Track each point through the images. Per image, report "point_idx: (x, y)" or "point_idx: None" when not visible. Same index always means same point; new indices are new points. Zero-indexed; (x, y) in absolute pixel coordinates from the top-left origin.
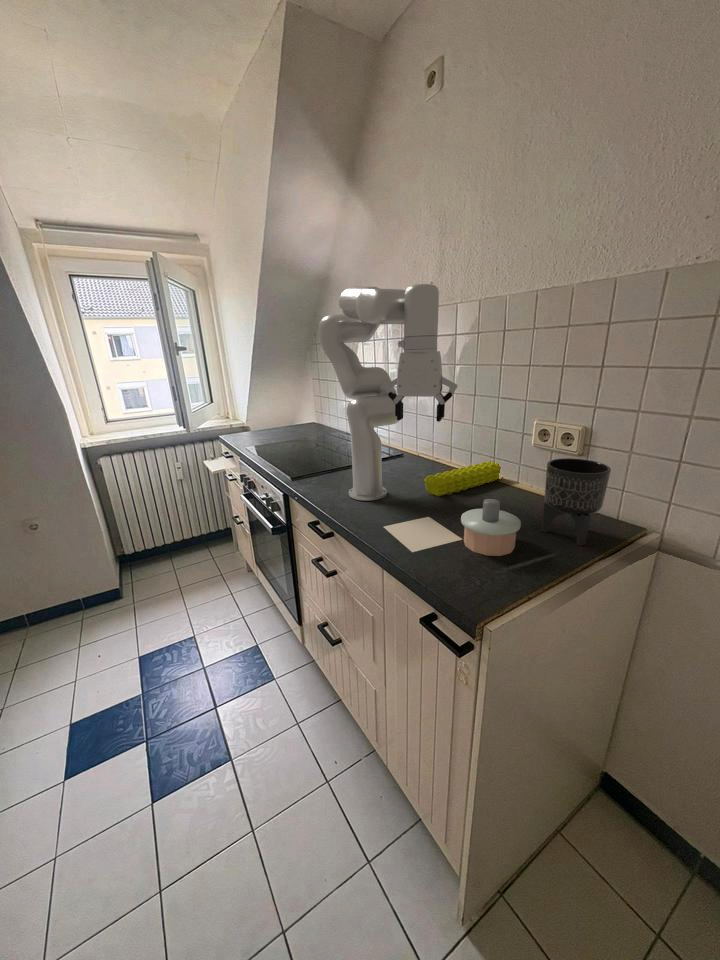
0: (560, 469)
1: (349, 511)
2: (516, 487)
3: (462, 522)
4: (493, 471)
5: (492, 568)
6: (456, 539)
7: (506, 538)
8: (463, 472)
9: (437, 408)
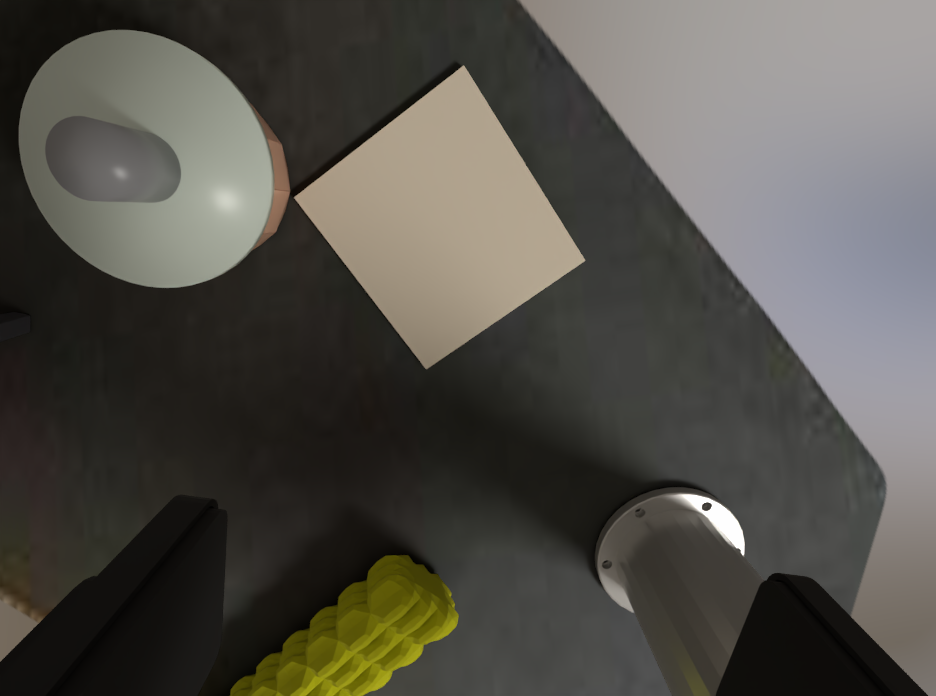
0: None
1: (720, 390)
2: None
3: (262, 133)
4: None
5: (186, 5)
6: (315, 192)
7: None
8: (295, 688)
9: (74, 683)
